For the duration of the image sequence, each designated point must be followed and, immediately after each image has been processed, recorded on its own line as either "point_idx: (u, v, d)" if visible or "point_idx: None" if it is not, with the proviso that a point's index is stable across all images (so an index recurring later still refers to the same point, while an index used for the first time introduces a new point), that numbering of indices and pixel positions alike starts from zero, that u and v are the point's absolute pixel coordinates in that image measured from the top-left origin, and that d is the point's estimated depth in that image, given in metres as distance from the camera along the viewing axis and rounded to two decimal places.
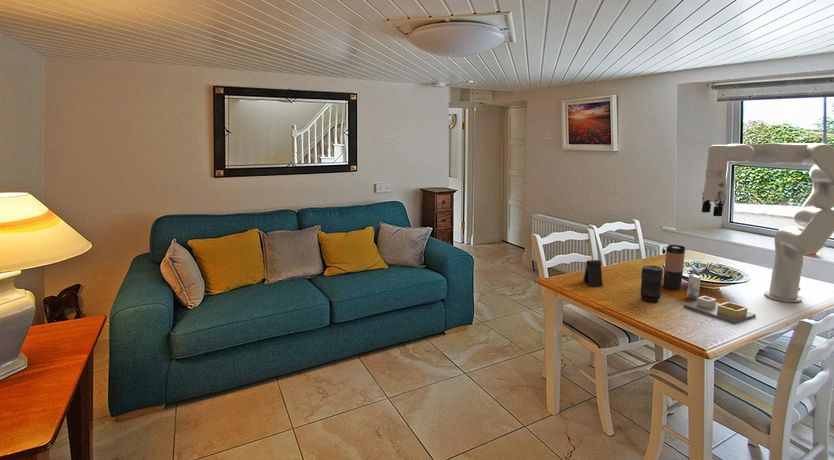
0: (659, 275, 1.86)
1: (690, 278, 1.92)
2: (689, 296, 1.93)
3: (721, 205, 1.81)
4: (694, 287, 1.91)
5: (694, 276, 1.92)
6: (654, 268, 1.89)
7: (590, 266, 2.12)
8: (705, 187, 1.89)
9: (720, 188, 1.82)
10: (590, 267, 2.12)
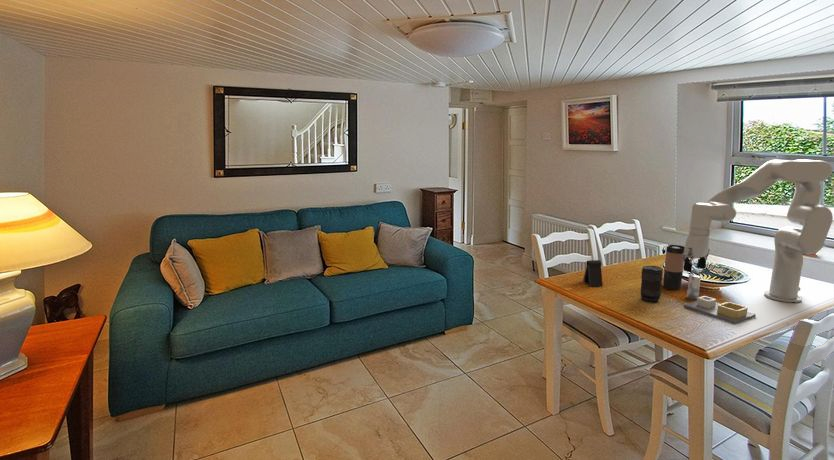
0: (659, 275, 1.86)
1: (690, 278, 1.92)
2: (689, 296, 1.93)
3: None
4: (694, 287, 1.91)
5: (694, 276, 1.92)
6: (654, 268, 1.89)
7: (590, 266, 2.12)
8: (699, 246, 1.86)
9: None
10: (590, 267, 2.12)
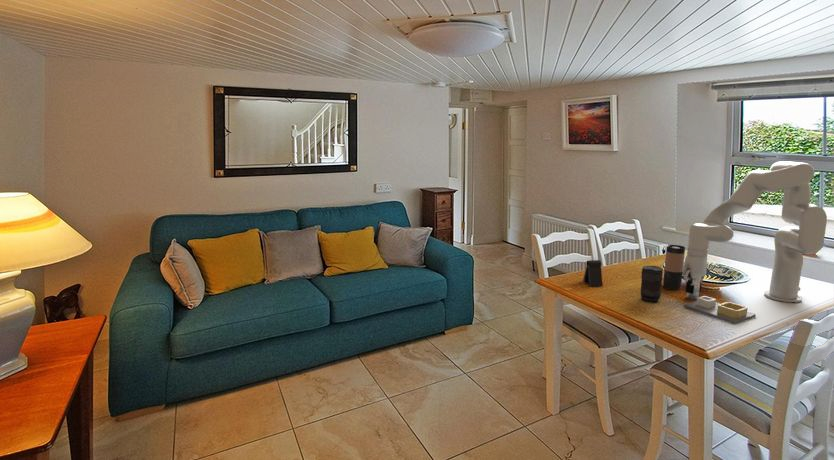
0: (659, 275, 1.86)
1: None
2: (689, 296, 1.93)
3: None
4: (694, 287, 1.91)
5: None
6: (654, 268, 1.89)
7: (590, 266, 2.12)
8: (697, 267, 1.88)
9: None
10: (590, 267, 2.12)
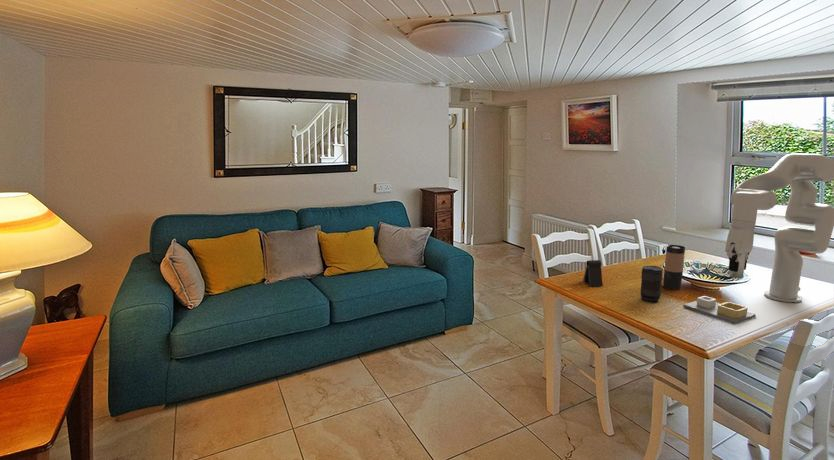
0: (659, 275, 1.86)
1: None
2: (732, 275, 1.70)
3: None
4: (739, 264, 1.68)
5: None
6: (654, 268, 1.89)
7: (590, 266, 2.12)
8: (743, 240, 1.64)
9: None
10: (590, 267, 2.12)
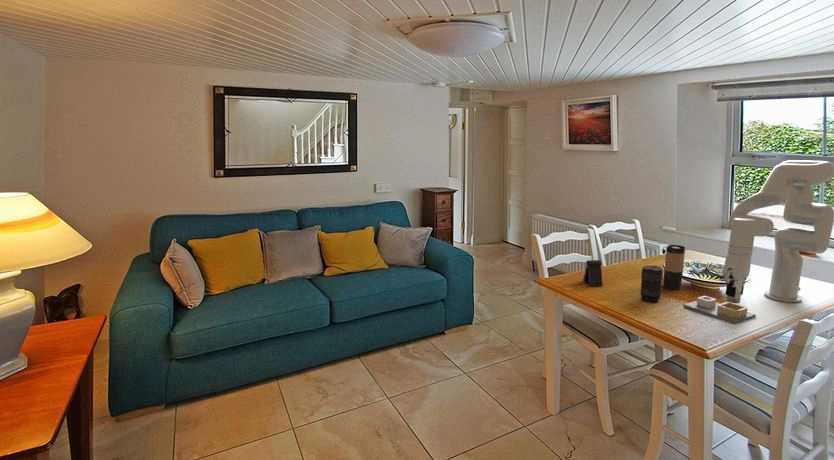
0: (659, 275, 1.86)
1: None
2: (729, 300, 1.71)
3: None
4: (736, 289, 1.69)
5: None
6: (654, 268, 1.89)
7: (590, 266, 2.12)
8: (740, 266, 1.66)
9: None
10: (590, 267, 2.12)
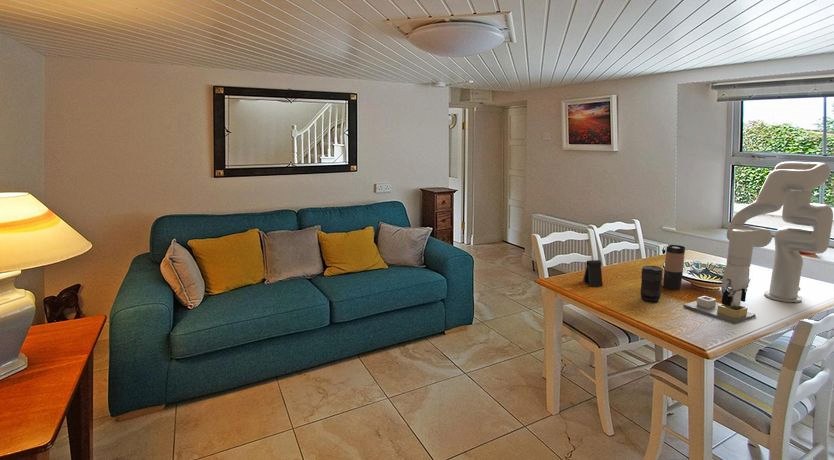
0: (659, 275, 1.86)
1: None
2: None
3: None
4: (735, 301, 1.70)
5: None
6: (654, 268, 1.89)
7: (590, 266, 2.12)
8: (739, 277, 1.67)
9: None
10: (590, 267, 2.12)
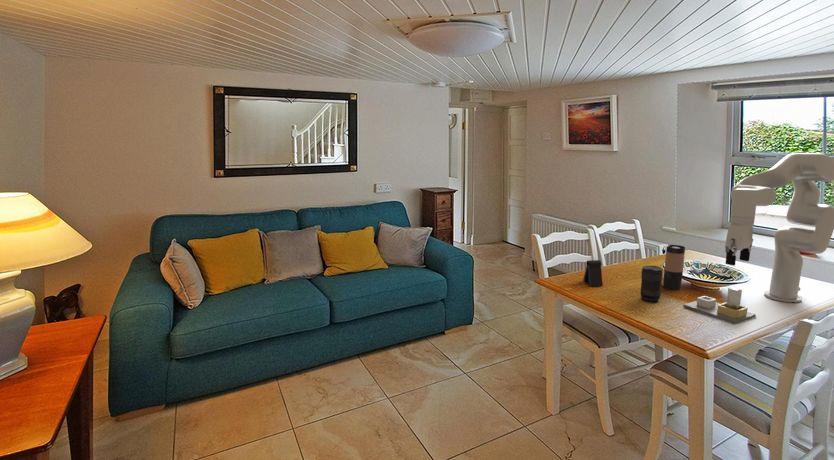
0: (659, 275, 1.86)
1: (730, 292, 1.71)
2: None
3: None
4: (735, 301, 1.70)
5: (734, 289, 1.71)
6: (654, 268, 1.89)
7: (590, 266, 2.12)
8: (743, 236, 1.67)
9: None
10: (590, 267, 2.12)
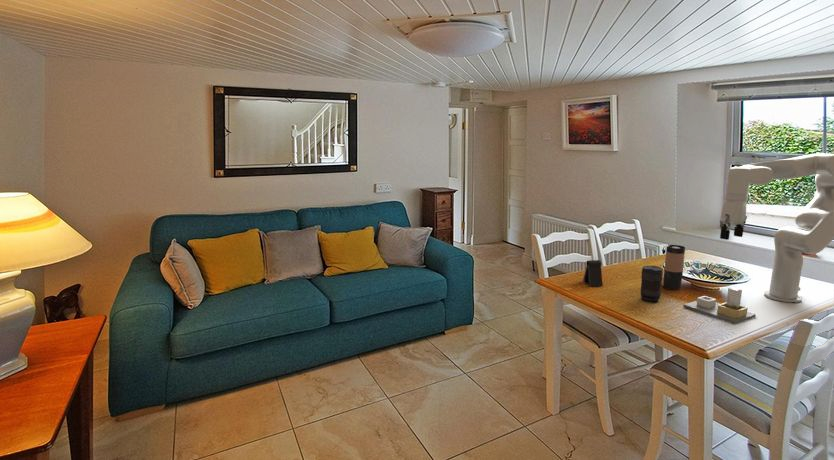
0: (659, 275, 1.86)
1: (730, 292, 1.71)
2: None
3: None
4: (735, 301, 1.70)
5: (734, 289, 1.71)
6: (654, 268, 1.89)
7: (590, 266, 2.12)
8: (736, 212, 1.78)
9: None
10: (590, 267, 2.12)
